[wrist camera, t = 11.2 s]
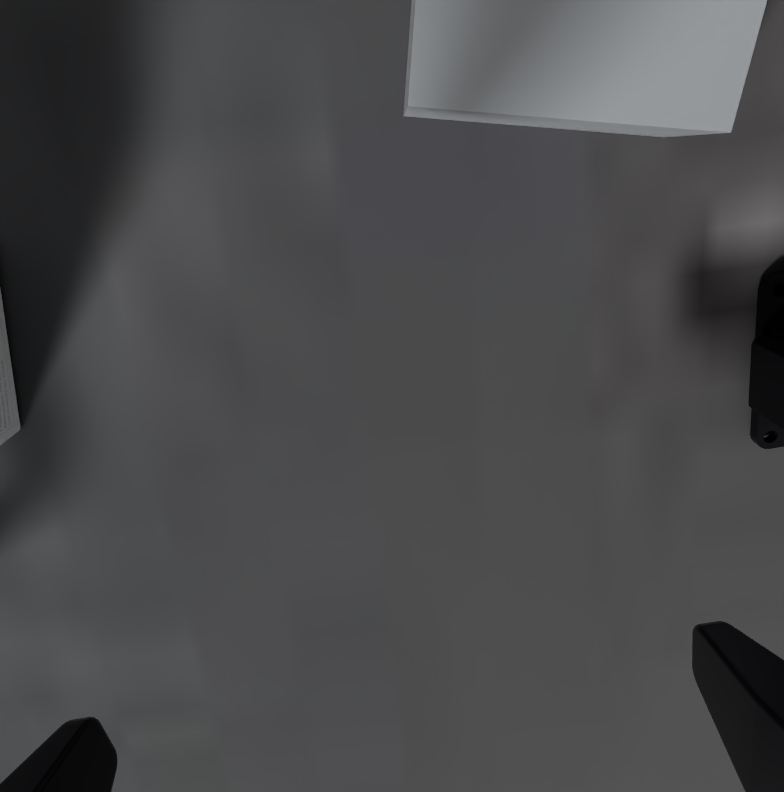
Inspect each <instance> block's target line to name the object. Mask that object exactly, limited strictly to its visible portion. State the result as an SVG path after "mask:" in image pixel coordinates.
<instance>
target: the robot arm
mask: <svg viewBox="0 0 784 792" xmlns="http://www.w3.org/2000/svg"><path fill="white" fill-rule="evenodd" d="M780 282H781V288H780V290H779V291H778V292H777V293H775V294H773V289H774V287H775V286H776V285H777V284H778V283H780ZM749 406H750V407H751V408H752V411H751V429H750V436H751V439H752V440H753V442H755V443H756V444H757V445H758V446H760V447H762V448H764V449H771V448H777V447H783V446H784V271H779V272H774V273H771V274H768V275H767V276H766V277H765V278H763V280H762V281H761V283H760V284H759V288H758V299H757V317H756V336H755V339H754V341H753V342H752V348H751V368H750V387H749ZM769 431H771V433H770V434H769V435H768V436H767V437H765V438H764V435H765V434H766V433H767V432H769ZM692 668H693V673H694V677H695V680H696V683H697V685H698V687H699V690H700V692H701V694H702V696H703V698H704V701H705V703H706V705H707V707H708V710H709V712H710V714H711V716H712V719H713V721H714V723H715V725H716V727H717V730H718V732H719V734H720V736H721V739H722V741H723V743H724V745H725V747H726V750H727V752H728V754H729V756H730V759H731V761H732V763H733V765H734V768H735V770H736V772H737V774H738V776H739V779H740V781H741V783H742V785H743V787H744V789H745V791H746V792H784V660H783V659H781V658H780V657H778V656H777V655H775V654H774V653H772V652H771V651H769V650H768V649H766V648H765V647H763V646H762V645H760V644H759V643H757V642H756V641H754V640H753V639H751V638H750V637H748V636H747V635H745V634H744V633H742V632H741V631H739V630H738V629H736V628H735V627H733V626H731V625H730V624H728V623H726V622H722V621H717V622H710V623H704V624H698V625H696V626H695V627H694V629H693V642H692ZM116 769H117V754H116V750H115V748H114V746H113V744H112V743H111V741H110V739H109V737H108V736H107V734H106V732H105V730H104V729H103V727H102V725H101V723H100V722H99V720H98V719H96V718H94V717H87V718H80V719H74V720H70V721H68V722H66V723H64V724H63V725H62V726H61V727H60V728H58V729H57V730H56V731H55V732H54V733H53V734H52V735H51V736H50V737H49V738H48V739H47V740H46V741H45V742H44V743H43V744H42V745H41V746H40V747H39V748H37V749H36V750H35V751H34V752H33V753H32V754H31V755H30V756H29V757H28V758H27V759H26V760H25V761H24V762H23V763H22V764H21V765H20V766H19V767H17V768H16V769H15V770H14V771H13V772H12V773H11V774H10V775H9V776H8V777H7V778H6V779H5V780H4V781H3V782H2V783H1V784H0V792H111V790H112V786H113V782H114V778H115V773H116Z"/></svg>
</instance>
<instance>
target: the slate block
mask: <svg viewBox="0 0 784 792" xmlns="http://www.w3.org/2000/svg"><path fill="white" fill-rule="evenodd" d="M766 3H767V0H412V6H411V20H410V34H409V48H408V62H407V75H406V89H405V103H404V116H409V117H422V118H434V119H446V120H459V121H471V122H483V123H496V124H508V125H520V126H533V127H545V128H558V129H570V130H582V131H595V132H607V133H619V134H632V135H644V136H656V137H673V136H688V135H704V134H719V133H731V131H732V127H733V123H734V120H735V116H736V112H737V109H738V105H739V102H740V98H741V94H742V91H743V87H744V83H745V80H746V76H747V72H748V69H749V65H750V61H751V58H752V54H753V51H754V47H755V43H756V40H757V36H758V32H759V29H760V25H761V21H762V18H763V14H764V10H765V7H766Z"/></svg>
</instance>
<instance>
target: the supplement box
mask: <svg viewBox="0 0 784 792" xmlns="http://www.w3.org/2000/svg"><path fill="white" fill-rule="evenodd" d="M19 430H20V420H19V414H18V407H17V400H16V393H15V386H14V379H13V372H12V366H11V359H10V352H9V345H8V338H7V331H6V324H5V317H4V310H3V303H2V296H1V289H0V445H2V444H3V443H4V442H5V441H7V440H8V439H9V438H11V437H12V436H13V435H14V434H16V433H17V432H18V431H19Z"/></svg>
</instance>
